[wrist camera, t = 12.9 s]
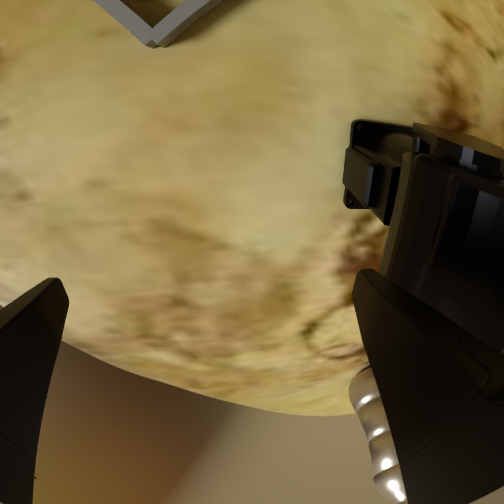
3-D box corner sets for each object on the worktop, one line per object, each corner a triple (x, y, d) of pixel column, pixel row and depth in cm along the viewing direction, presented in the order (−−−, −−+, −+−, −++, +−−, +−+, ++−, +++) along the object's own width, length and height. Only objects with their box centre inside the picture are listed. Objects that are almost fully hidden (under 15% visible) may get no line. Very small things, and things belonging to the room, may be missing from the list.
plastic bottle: (334, 387, 35) (368, 529, 18) (366, 355, 31) (418, 512, 15) (370, 390, 36) (408, 516, 19) (401, 360, 33) (454, 495, 16)
